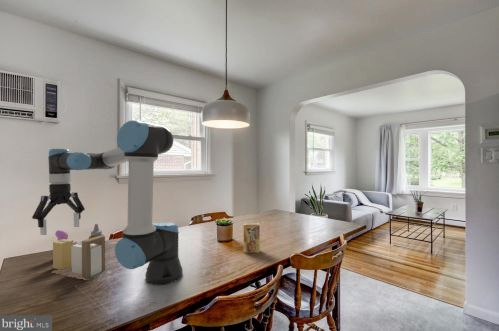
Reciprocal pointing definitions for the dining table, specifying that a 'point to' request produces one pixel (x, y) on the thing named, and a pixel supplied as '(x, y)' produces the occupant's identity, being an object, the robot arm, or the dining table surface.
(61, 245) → the stub
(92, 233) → the squeeze bottle
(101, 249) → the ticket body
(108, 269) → the mat
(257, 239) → the candy box
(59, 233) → the pink scoop
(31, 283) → the dining table surface
